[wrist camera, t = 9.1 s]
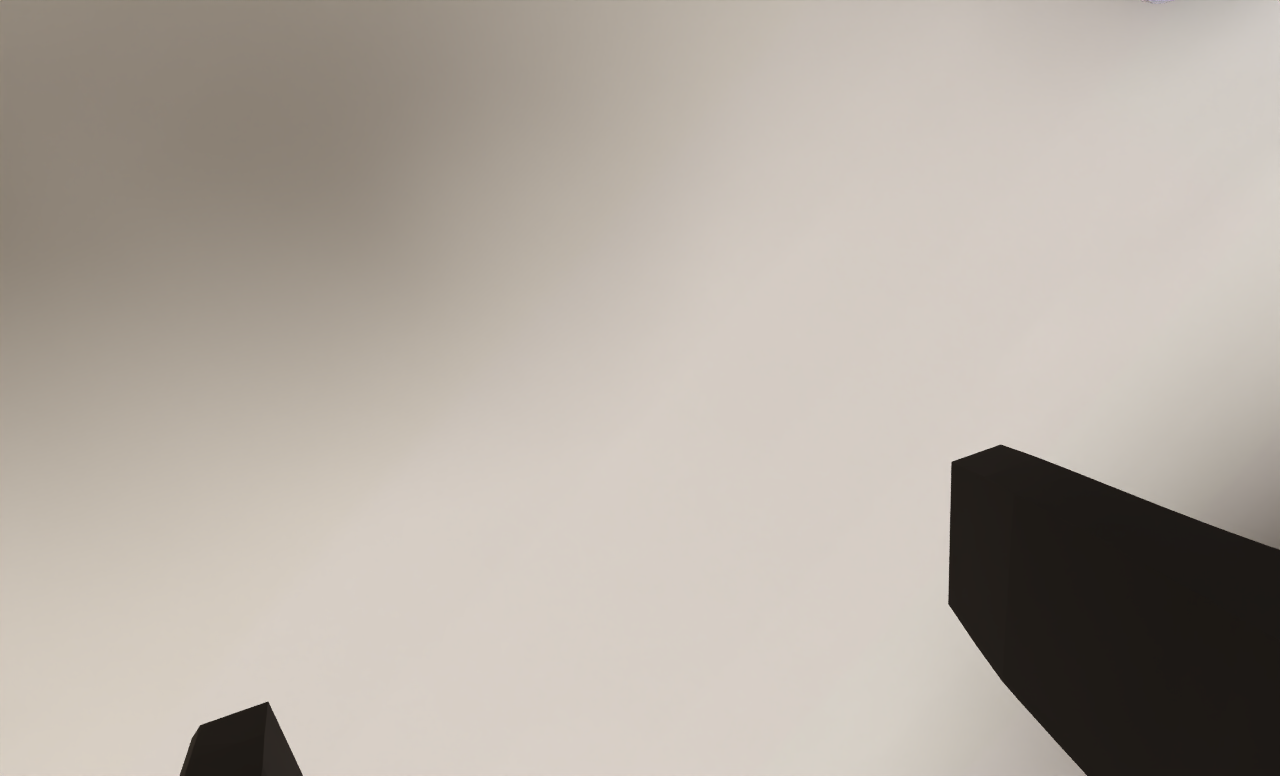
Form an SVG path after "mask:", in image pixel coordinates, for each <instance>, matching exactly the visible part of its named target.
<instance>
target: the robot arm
mask: <svg viewBox="0 0 1280 776" xmlns="http://www.w3.org/2000/svg"><path fill="white" fill-rule="evenodd" d="M1141 1H1144V2H1149V3H1154V4H1158V3H1165V2H1169V1H1173V0H1141ZM948 604H949V606H950V607H951V609H952V610H953V612H954V613H955V614H956V616H957V617H958V619H959V620H960V622H961V623H962V625H963V626H964V628H965V629H966V631H967V632H968V634H969V635H970V637H971V638H972V640H973V641H974V643H975V644H976V646H977V647H978V648H979V650H980V651H981V653H982V654H983V655H984V657H985V658H986V659H987V661H988V662H989V664H990V665H991V666H992V668H993V669H994V671H995V672H996V673H997V675H998V676H999V677H1000V679H1001V680H1002V682H1003V683H1004V684H1005V685H1006V686H1007V687H1008V688H1009V690H1010V691H1011V692H1012V693H1013V694H1014V695H1015V696H1016V698H1017V699H1018V700H1019V701H1020V702H1021V703H1022V704H1023V705H1024V706H1025V708H1026V709H1027V710H1028V711H1029V712H1030V713H1031V714H1032V715H1033V717H1034V718H1035V719H1036V720H1037V721H1038V722H1039V723H1040V724H1041V725H1042V727H1043V728H1044V729H1045V730H1046V731H1047V732H1048V733H1049V734H1050V735H1051V737H1052V738H1053V739H1054V740H1055V741H1056V742H1057V743H1058V744H1059V745H1060V746H1061V748H1062V749H1063V750H1064V751H1065V752H1066V753H1067V754H1068V755H1069V756H1070V757H1071V758H1072V760H1073V761H1074V762H1075V763H1076V764H1077V765H1078V766H1079V767H1080V768H1081V769H1082V770H1083V772H1084V773H1085V774H1086V775H1087V776H1280V550H1278V549H1275V548H1272V547H1269V546H1267V545H1264V544H1261V543H1258V542H1255V541H1253V540H1250V539H1247V538H1244V537H1242V536H1239V535H1236V534H1233V533H1230V532H1228V531H1225V530H1222V529H1220V528H1217V527H1214V526H1212V525H1209V524H1206V523H1203V522H1201V521H1198V520H1196V519H1193V518H1190V517H1188V516H1185V515H1183V514H1180V513H1177V512H1175V511H1172V510H1170V509H1167V508H1164V507H1162V506H1159V505H1157V504H1154V503H1152V502H1149V501H1147V500H1144V499H1141V498H1139V497H1136V496H1134V495H1131V494H1129V493H1126V492H1124V491H1121V490H1119V489H1116V488H1114V487H1111V486H1109V485H1106V484H1104V483H1101V482H1099V481H1096V480H1094V479H1091V478H1089V477H1086V476H1084V475H1081V474H1079V473H1076V472H1073V471H1071V470H1068V469H1066V468H1063V467H1061V466H1058V465H1056V464H1053V463H1050V462H1048V461H1045V460H1043V459H1040V458H1037V457H1035V456H1032V455H1029V454H1026V453H1024V452H1021V451H1018V450H1015V449H1012V448H1009V447H1006V446H1003V445H998V446H996V447H993V448H990V449H987V450H984V451H981V452H978V453H976V454H973V455H970V456H967V457H964V458H961V459H958V460H956V461H953V462H952V466H951V511H950V556H949V600H948ZM180 776H303V775H302V773H301V770H300V768H299V766H298V764H297V762H296V760H295V758H294V755H293V753H292V751H291V749H290V747H289V745H288V743H287V741H286V738H285V736H284V734H283V732H282V730H281V728H280V726H279V723H278V721H277V719H276V717H275V715H274V713H273V711H272V709H271V706H270V704H269V702H265V703H263V704H260V705H257V706H254V707H251V708H248V709H245V710H243V711H240V712H237V713H234V714H231V715H228V716H225V717H223V718H220V719H217V720H214V721H211V722H208V723H205V724H203V725H200V727H199V728H198V730H197V731H196V733H195V734H194V736H193V737H192V740H191V743H190V746H189V749H188V752H187V755H186V758H185V761H184V764H183V767H182V770H181V773H180Z"/></svg>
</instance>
